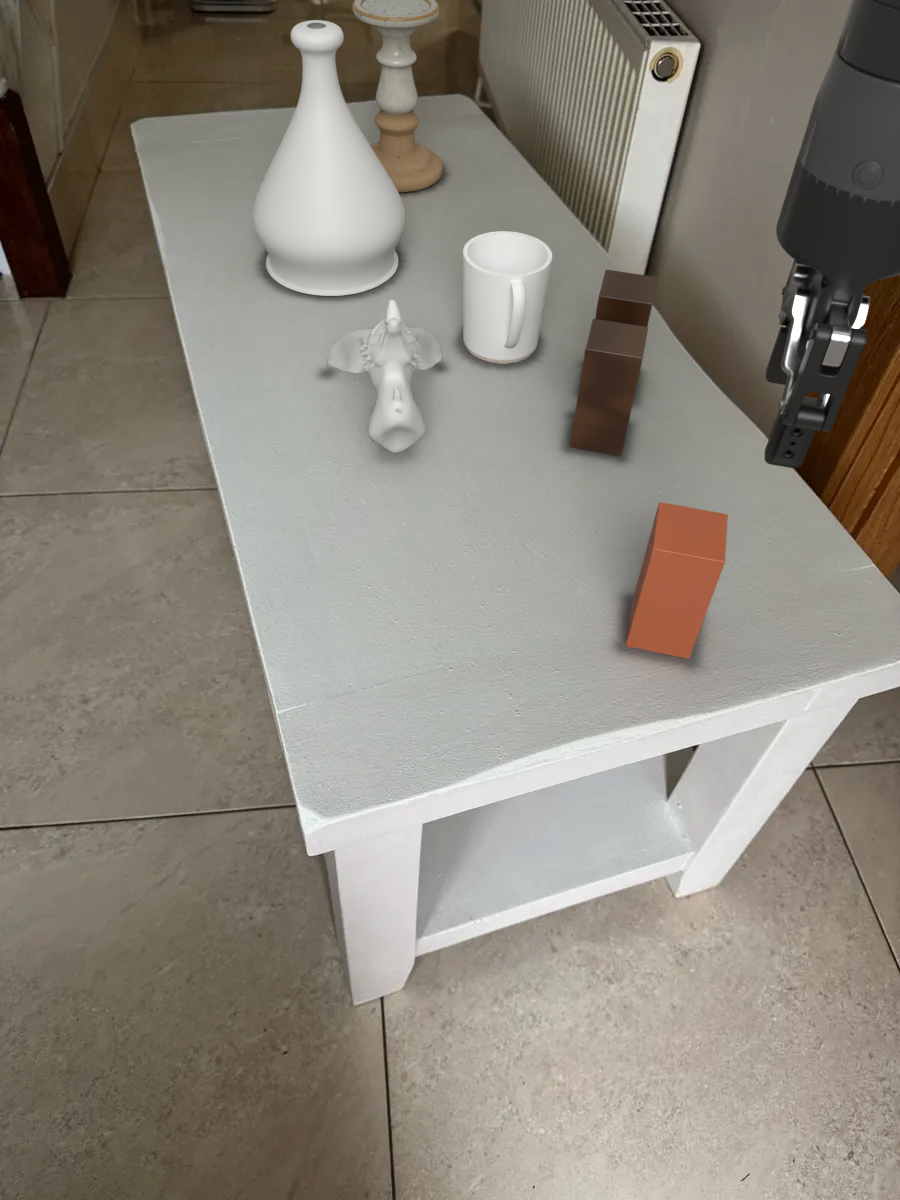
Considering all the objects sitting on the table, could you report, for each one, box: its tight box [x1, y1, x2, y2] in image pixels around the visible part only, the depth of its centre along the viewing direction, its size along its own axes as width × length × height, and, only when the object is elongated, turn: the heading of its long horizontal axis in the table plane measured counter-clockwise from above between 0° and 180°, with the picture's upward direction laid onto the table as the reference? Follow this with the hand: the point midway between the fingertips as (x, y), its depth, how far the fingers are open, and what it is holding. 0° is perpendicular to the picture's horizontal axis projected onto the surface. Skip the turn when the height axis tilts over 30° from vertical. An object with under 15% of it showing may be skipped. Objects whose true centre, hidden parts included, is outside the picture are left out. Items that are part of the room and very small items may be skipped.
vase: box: [251, 19, 407, 297], centre depth 101 cm, size 17×17×25 cm
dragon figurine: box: [326, 298, 444, 454], centre depth 86 cm, size 12×18×13 cm
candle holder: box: [351, 0, 444, 193], centre depth 119 cm, size 12×12×20 cm
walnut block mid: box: [569, 318, 649, 457], centre depth 86 cm, size 5×5×11 cm
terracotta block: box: [625, 501, 729, 660], centre depth 70 cm, size 5×5×11 cm
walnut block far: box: [594, 269, 658, 328], centre depth 92 cm, size 5×5×11 cm
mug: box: [462, 230, 553, 365], centre depth 96 cm, size 11×9×10 cm
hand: (781, 419), depth 59 cm, fingers open, 8 cm apart
